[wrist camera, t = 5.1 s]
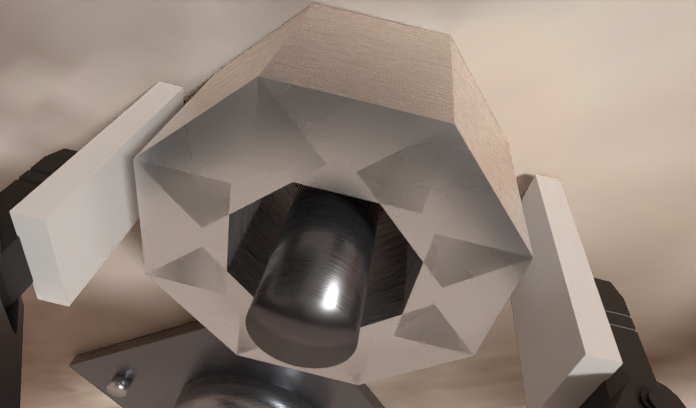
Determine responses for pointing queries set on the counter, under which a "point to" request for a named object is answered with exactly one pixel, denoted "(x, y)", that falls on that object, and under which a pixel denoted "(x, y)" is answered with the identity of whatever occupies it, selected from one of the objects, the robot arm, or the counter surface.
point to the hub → (207, 376)
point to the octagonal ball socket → (341, 187)
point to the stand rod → (316, 280)
